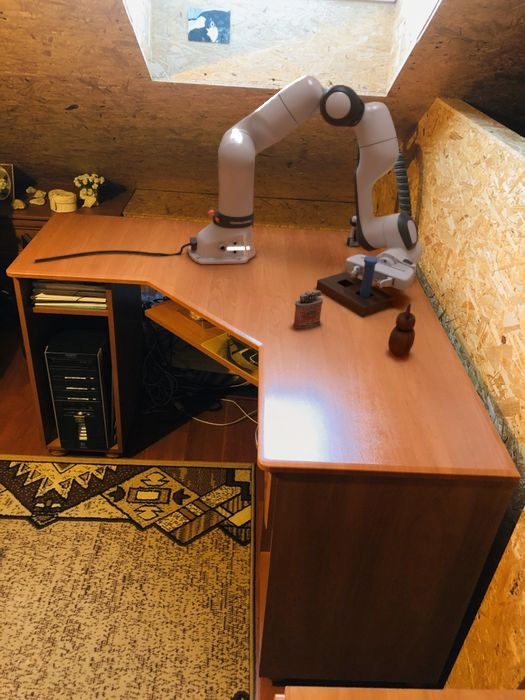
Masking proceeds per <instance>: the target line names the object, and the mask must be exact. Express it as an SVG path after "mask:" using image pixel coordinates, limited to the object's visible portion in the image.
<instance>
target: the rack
mask: <svg viewBox="0 0 525 700" xmlns="http://www.w3.org/2000/svg"><path fill="white" fill-rule="evenodd" d="M361 283H362V278H360V277H359V276H358V277H357V278H352V277H351V272H349V271H347V270H345V271H343V272H340V273H336V274H333V275H330V276H326V277H322V278H319V279H317V280H316V291H318V290H320V291H321V294H324V295H326V296H328V297H329V298H331V299H332V300H333V301H335V302H337V303H339V304H340V305H342V306H343V307H346V308H347V309H349V310H351V311H352V312H354V313H355V314H357V315H359V317H362V318H364V317H368V316H370V315H373V314H376V313H379V312H382V311H384V310H387V309H390V308H392V307H393V306H394V301H395V297H394V296H392V295H391V294H389V293H387V292H385V291H383V290H381V288H379V287H377V286H374V285H372V287H371V293H370V297H368V298H365V299H364V298H363V297H361V296H359V295H360V289H361Z"/></svg>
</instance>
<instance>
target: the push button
mask: <svg viewBox="0 0 525 700" xmlns="http://www.w3.org/2000/svg"><path fill="white" fill-rule="evenodd" d="M349 225H350V226H351V229H350V236H348V237H347V238H346V245H347V246H349V247H350V248H351V247H357V246H360V245H359V244H358V242H357V240H356V215H354V216H352V217H351V218H350V219H349Z"/></svg>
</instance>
